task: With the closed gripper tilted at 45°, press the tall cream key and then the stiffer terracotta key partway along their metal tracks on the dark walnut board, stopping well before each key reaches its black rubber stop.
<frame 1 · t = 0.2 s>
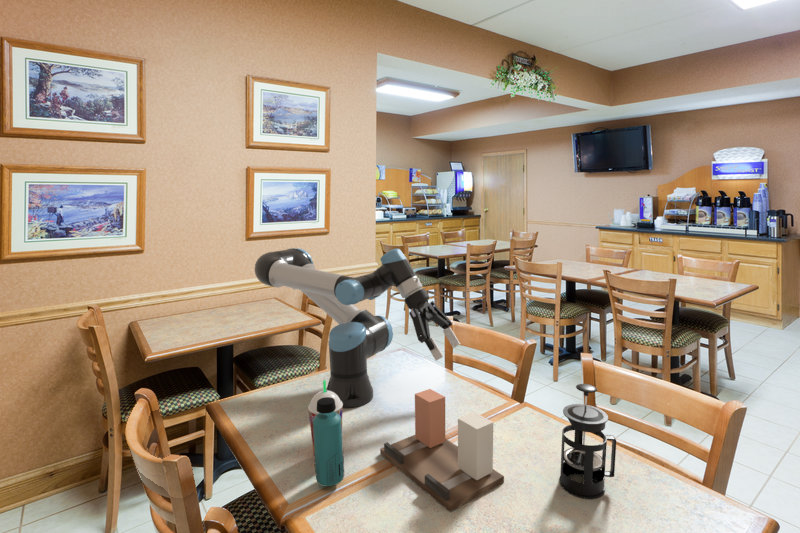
hand: (448, 352, 138), 16 cm above the table, tool tilted 35°, fingers open, 13 cm apart
key a: (475, 445, 100), point 8 cm above the table, slide at 0.0 cm
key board: (438, 467, 106), on the table
key b: (430, 417, 113), point 8 cm above the table, slide at 0.0 cm
smoothie: (327, 458, 111), on the table
french press: (584, 486, 98), on the table
beverage bottle: (330, 484, 101), on the table
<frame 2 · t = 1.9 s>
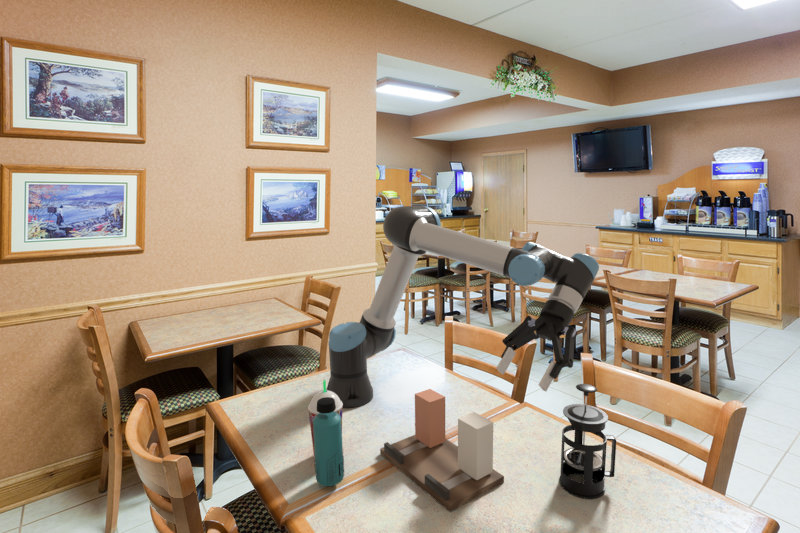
hand: (519, 379, 107), 20 cm above the table, tool tilted 45°, fingers open, 12 cm apart
nothing on the table moved.
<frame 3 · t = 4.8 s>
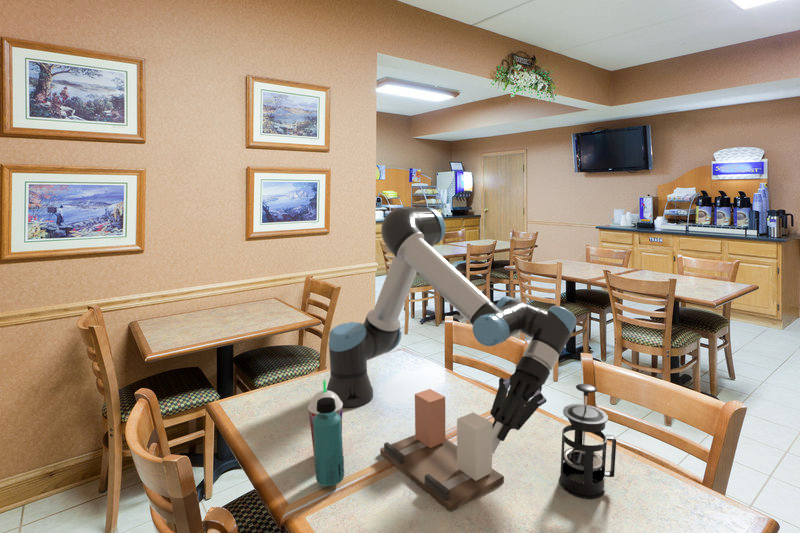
hand: (488, 449, 102), 6 cm above the table, tool tilted 45°, fingers closed
key a: (474, 445, 100), point 8 cm above the table, slide at 0.3 cm, touching gripper
everything else where it was.
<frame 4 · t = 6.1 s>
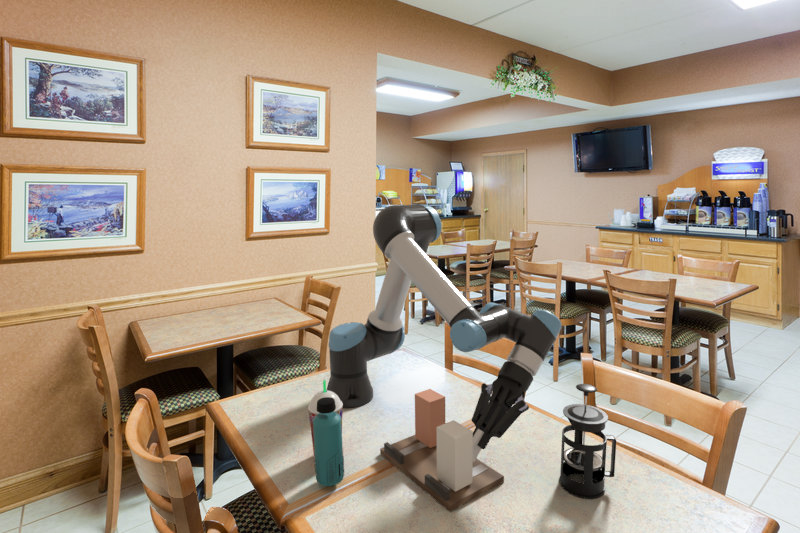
hand: (468, 458, 99), 6 cm above the table, tool tilted 45°, fingers closed
key a: (454, 454, 97), point 8 cm above the table, slide at 6.3 cm, touching gripper
everything else where it was.
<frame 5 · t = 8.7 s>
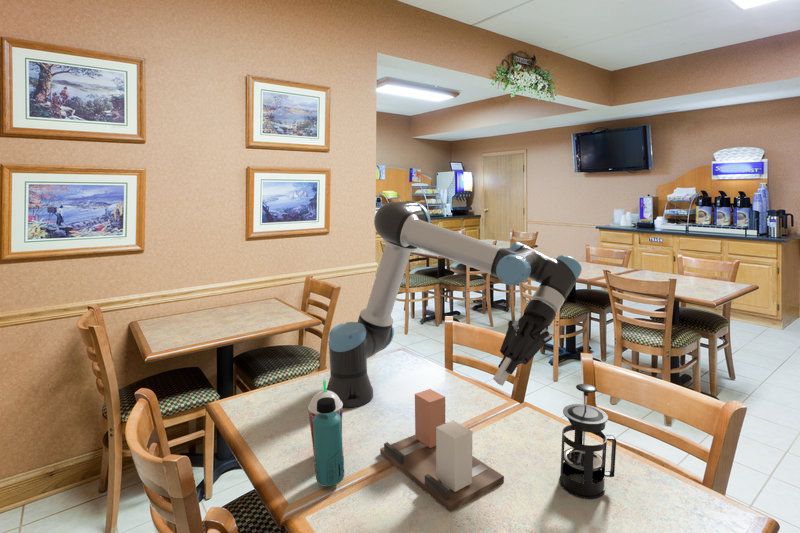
hand: (497, 382, 111), 18 cm above the table, tool tilted 45°, fingers closed
key a: (454, 455, 97), point 8 cm above the table, slide at 6.4 cm
everything else where it was.
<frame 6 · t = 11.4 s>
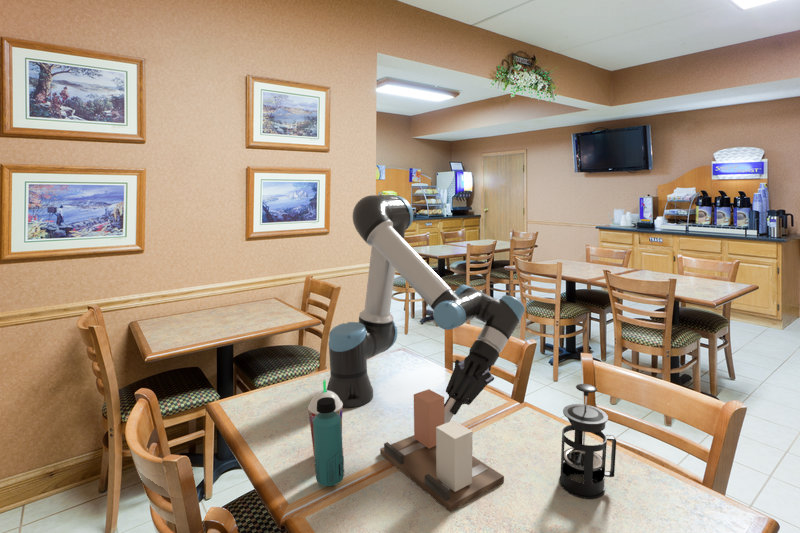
hand: (442, 422, 115), 6 cm above the table, tool tilted 45°, fingers closed
key b: (429, 418, 113), point 8 cm above the table, slide at 0.4 cm, touching gripper
everything else where it was.
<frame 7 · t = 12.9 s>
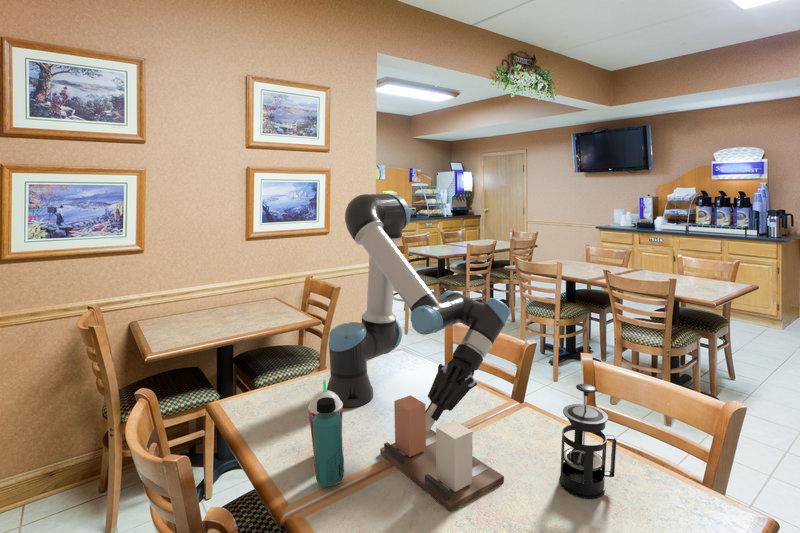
hand: (423, 428, 112), 6 cm above the table, tool tilted 45°, fingers closed
key b: (410, 425, 110), point 8 cm above the table, slide at 6.3 cm, touching gripper
everything else where it was.
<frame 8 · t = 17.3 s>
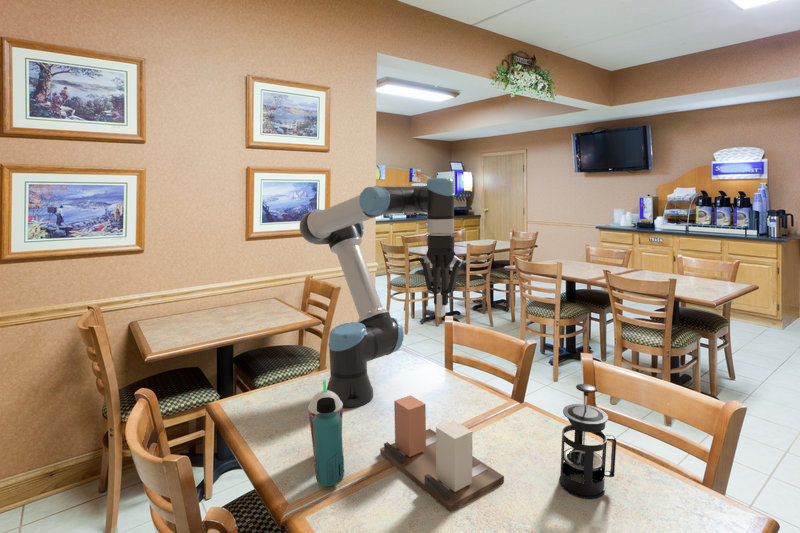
hand: (441, 315, 129), 29 cm above the table, tool pointing down, fingers closed
key b: (410, 425, 110), point 8 cm above the table, slide at 6.3 cm
everything else where it was.
at the end: key a slide at 6.4 cm; key b slide at 6.3 cm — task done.
